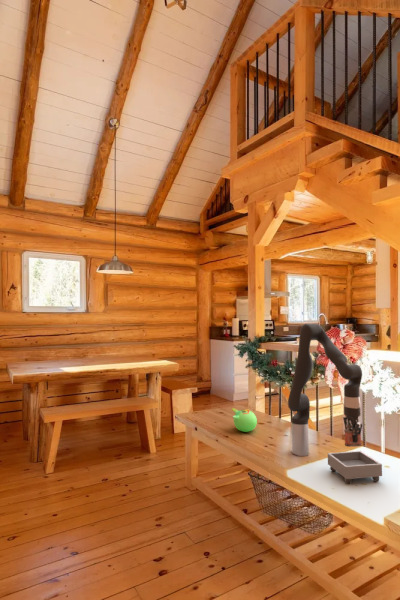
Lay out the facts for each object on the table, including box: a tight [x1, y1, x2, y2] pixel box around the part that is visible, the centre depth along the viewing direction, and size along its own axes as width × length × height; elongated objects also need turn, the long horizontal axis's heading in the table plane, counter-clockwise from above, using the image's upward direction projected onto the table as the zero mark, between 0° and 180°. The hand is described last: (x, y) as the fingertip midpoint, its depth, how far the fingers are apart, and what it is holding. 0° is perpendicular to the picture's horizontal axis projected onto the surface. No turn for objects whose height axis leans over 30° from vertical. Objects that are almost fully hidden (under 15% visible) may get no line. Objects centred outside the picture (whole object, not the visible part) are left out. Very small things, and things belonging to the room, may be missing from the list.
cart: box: [327, 450, 383, 485], centre depth 190 cm, size 18×18×8 cm
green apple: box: [231, 407, 258, 433], centre depth 265 cm, size 18×17×15 cm
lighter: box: [343, 425, 363, 448], centre depth 191 cm, size 8×3×10 cm, turn 92°
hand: (352, 440), depth 191 cm, fingers closed on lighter, 3 cm apart
